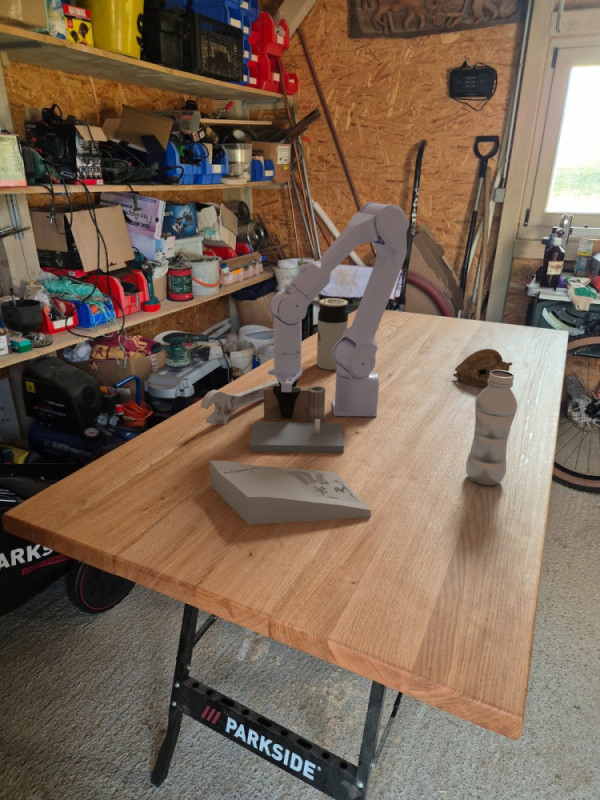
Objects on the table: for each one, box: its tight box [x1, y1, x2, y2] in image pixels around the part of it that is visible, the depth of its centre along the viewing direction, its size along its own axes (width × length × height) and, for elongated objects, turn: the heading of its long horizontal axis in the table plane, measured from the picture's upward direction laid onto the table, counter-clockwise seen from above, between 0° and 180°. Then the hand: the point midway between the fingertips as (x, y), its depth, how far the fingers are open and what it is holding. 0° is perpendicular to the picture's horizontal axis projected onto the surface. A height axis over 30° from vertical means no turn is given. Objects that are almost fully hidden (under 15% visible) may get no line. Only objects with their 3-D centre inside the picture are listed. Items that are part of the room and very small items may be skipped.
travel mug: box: [316, 297, 349, 371], centre depth 143 cm, size 8×8×18 cm
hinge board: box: [249, 419, 345, 454], centre depth 105 cm, size 18×10×4 cm, turn 90°
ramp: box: [209, 460, 372, 526], centre depth 86 cm, size 28×16×5 cm, turn 75°
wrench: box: [200, 379, 279, 425], centre depth 119 cm, size 8×2×30 cm
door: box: [263, 385, 326, 423], centre depth 114 cm, size 13×4×7 cm, turn 90°
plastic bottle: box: [465, 370, 518, 486], centre depth 89 cm, size 6×7×20 cm
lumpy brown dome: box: [452, 348, 513, 389], centre depth 141 cm, size 10×24×15 cm
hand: (287, 410), depth 114 cm, fingers open, 7 cm apart
